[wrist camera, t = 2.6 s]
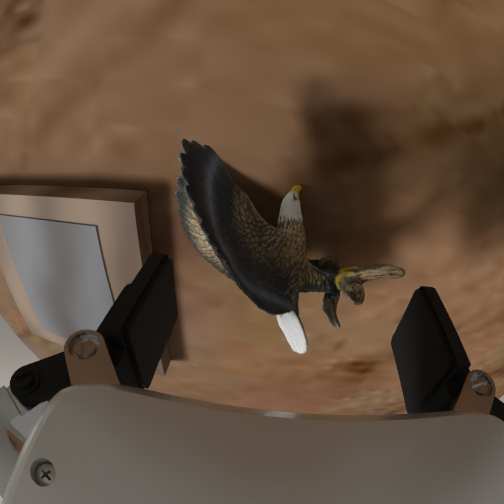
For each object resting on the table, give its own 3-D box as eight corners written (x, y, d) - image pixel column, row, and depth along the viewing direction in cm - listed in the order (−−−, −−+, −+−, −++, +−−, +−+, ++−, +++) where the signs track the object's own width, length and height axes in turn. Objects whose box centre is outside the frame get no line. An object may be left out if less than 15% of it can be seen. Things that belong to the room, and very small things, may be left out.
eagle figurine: (404, 186, 12) (208, 83, 9) (401, 356, 9) (124, 283, 7) (312, 239, 19) (169, 184, 16) (292, 357, 16) (126, 312, 13)
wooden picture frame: (152, 191, 15) (138, 204, 14) (174, 361, 23) (168, 377, 21) (-10, 184, 16) (-24, 194, 14) (39, 322, 23) (31, 333, 22)
